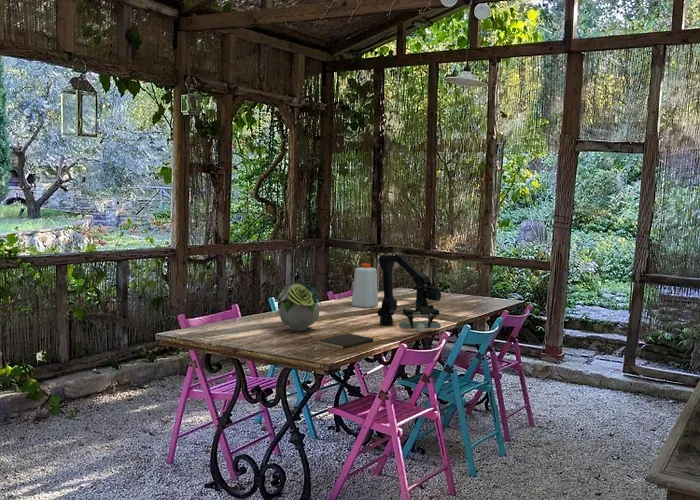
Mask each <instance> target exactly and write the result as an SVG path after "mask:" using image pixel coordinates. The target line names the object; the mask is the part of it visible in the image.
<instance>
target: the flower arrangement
mask: <svg viewBox="0 0 700 500" xmlns="http://www.w3.org/2000/svg"><path fill="white" fill-rule="evenodd" d="M319 299H320V295H319V292H318V291H316V289H315V287H314V286H311V285H309V284H308V285H305V284H303V283H299V282H297V283H293V284H292V283H291V284H290V285H289V286H287V285H284V287H283V290H281V292H280V293H279V295H278V297H277V298H276V299H275V300H274V303H277V312H278V315H279V317H280V321H281V322H283V324H284V325H286V326H288V327H289V328H290V330H291V331H296V332H303V331H307V330H308V328H309V327H310V326H312V325H313V324H315V323H316V322H317V321H318V319H319V316H320V306H319V304H320V305H322V303H321V300H319Z"/></svg>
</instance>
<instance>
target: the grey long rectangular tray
mask: <svg viewBox="0 0 700 500" xmlns="http://www.w3.org/2000/svg"><path fill="white" fill-rule="evenodd" d="M419 322H422V323H424V325H425V329H441V322H438V321H436V320H433V321H432V323H431V325H430V328H428V320H413V328H411V325H410V324H404V320H403V321H401V320H400V321H399V322H398V326H399V327H400V328H401V329H403V330H406V329H408V330H409V329H410V330H411V329H415V330H416V327H417V324H418V323H419Z"/></svg>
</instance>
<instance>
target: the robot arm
mask: <svg viewBox="0 0 700 500" xmlns="http://www.w3.org/2000/svg"><path fill="white" fill-rule="evenodd" d="M378 263H379V267H380V269H381V271H382V284H383V299H382V301H381V308H380V309H378V311H377V312H376V313H377V316H379V322H378V323H379V325H380V326H386V327H388V326H393V325H394V320H393V319H394V318H393V316H394V315H395V312H396V311H397V308H398V300H397V299H395V298H394V294H393V275H392V274H393V273H392V270H393V268H394V265H395V263H397V264H398V265H399V266H400V267H401V268H402V269H403V270H404V271H405V272H406V273H407V274H408V275H410V277H411V280H412V282H413V283H414V284H415V286H414V287H412V290H415V291H416V292H415V293H416V294H415V297H416V298H415V301H414V302H415V308H414V310H413V309H411V308H404V309H403V310H402V315H404V316H406V317H408V319H409V322H410V325H411V328H413V321H414V314H417V315H422V316H427V321H428V328H427V329H431V328H430V325H431V323H432V321H434V319H435V318H436V317H437V316H440V310H439V309H437V308H436V307H435V306H434V305H432V304H431V305H429V303H428V300H429V301H435V302H440V300H441V298H442V292H441V291H440V287H434V285H433V284H432V282H431V280H430V277H429V275H427V274H426V273H424V272H423V271H420V270H419V269H417V268H416V267H415V266H414V265H413V264H412V263H411V262H410V261H409V260H408V259H407V258H406V257H405V255H403V254H396V255H392V254H382V255H380V256H379V258H378Z"/></svg>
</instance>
